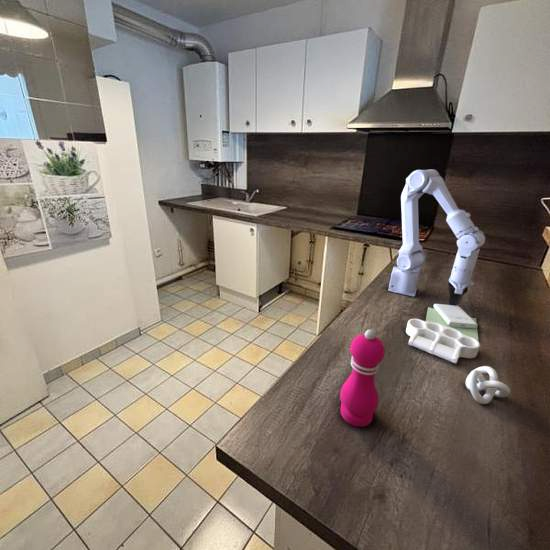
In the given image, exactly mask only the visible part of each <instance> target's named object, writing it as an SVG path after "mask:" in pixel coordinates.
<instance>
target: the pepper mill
mask: <svg viewBox="0 0 550 550" xmlns="http://www.w3.org/2000/svg"><path fill="white" fill-rule="evenodd" d="M349 346H350V347H349V351H350V355H351V360H350V366H351V368H352V370H351V373H350V375H349V376H348V378H347V379H346V380H345V382H344V383H343V384H342V386H341V389H340V393H339V398H340V402H341V405H340V415H341V416H342V418H343V420H344V421H345V422H346V423H348V424H349V425H350V426H354V427H359V428H360V427H361V428H362V427H367V426H368V425H370V424H371V423H372V421H373V417H374V412H376V411H377V409H378V406H379V394H378V389H377V387H376V384H375V377H376V376H375V375H376V374H377V373H378V372H379V370H380V363H381V362H382V361H383V360H384V358H385V355H386V348H385V345H384V342H383V341H382V340H381V339H380V338H379V337H378V336H376V333H375V331H374V330H373V329H367V330H365V332H364V333H361V334H358V335H356V336H355V337H354V338H353V339H352V341H351V343H350V345H349Z"/></svg>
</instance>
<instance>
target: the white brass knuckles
mask: <svg viewBox="0 0 550 550" xmlns="http://www.w3.org/2000/svg"><path fill="white" fill-rule="evenodd" d="M405 333H406V335H408V336H409V339H408V342H407V345H409V346H411V347H414V348H416V349H419V350H421V351H424V352H426V353H428V354H431V355H433V356H437V357H438V358H441V359H443V360H445V361H448V362H451V363H453V364H457V363H458V361H459V359H460V358H464V359H474V358H476V357H477V356H478V352H479V350H480V347H481V344H480V342H479V340H478V341H477V340H476V339H474V338H472V337H468V336H466V335H464V334H462V333H461V332H459V331H458V330H456V329H453V328H449V327H446V326H443V325H441V324H439V323H435V322H426V320H423V319H420V318H410V319H409V320H408V321H407V324H406V328H405Z"/></svg>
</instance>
